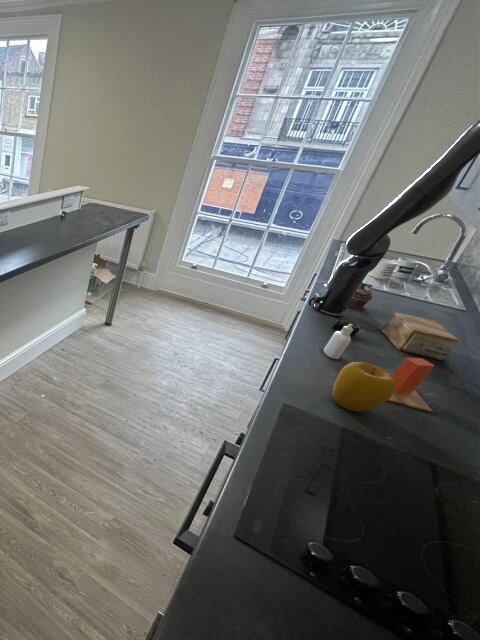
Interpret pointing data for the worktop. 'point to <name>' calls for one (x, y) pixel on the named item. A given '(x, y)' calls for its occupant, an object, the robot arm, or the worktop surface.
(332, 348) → the eye dropper bottle
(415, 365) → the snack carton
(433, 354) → the drawer
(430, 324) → the cabinet
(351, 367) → the apple
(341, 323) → the tape measure
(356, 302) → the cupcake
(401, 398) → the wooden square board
